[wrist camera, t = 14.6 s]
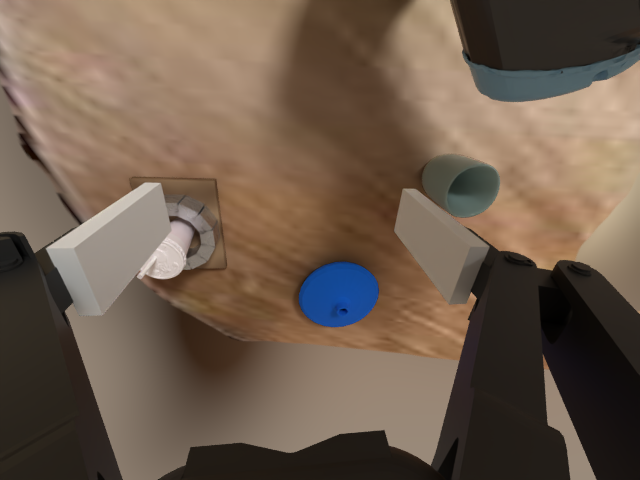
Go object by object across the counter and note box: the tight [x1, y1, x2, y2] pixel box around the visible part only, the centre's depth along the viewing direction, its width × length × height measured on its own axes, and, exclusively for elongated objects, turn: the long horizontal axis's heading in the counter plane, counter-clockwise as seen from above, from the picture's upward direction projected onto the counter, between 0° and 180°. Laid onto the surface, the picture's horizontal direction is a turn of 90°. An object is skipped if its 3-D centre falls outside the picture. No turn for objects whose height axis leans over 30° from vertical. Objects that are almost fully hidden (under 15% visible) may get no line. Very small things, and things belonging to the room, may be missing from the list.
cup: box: [422, 154, 500, 218], centre depth 41 cm, size 8×8×10 cm
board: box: [129, 177, 227, 269], centre depth 45 cm, size 16×12×1 cm
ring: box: [164, 194, 220, 270], centre depth 43 cm, size 12×12×4 cm
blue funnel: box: [299, 262, 379, 327], centre depth 52 cm, size 16×16×7 cm
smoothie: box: [137, 218, 195, 279], centre depth 38 cm, size 6×6×14 cm
